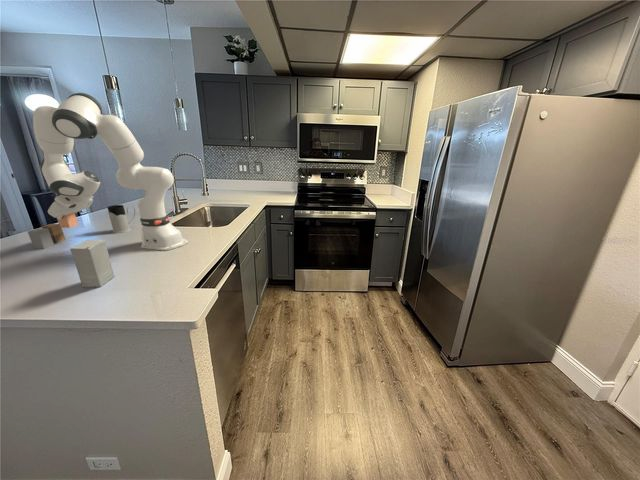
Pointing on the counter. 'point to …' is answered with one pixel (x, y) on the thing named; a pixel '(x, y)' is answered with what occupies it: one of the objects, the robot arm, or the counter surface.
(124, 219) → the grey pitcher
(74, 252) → the skincare box
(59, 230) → the walnut block
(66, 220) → the terracotta block
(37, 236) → the grey block
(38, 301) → the counter surface
